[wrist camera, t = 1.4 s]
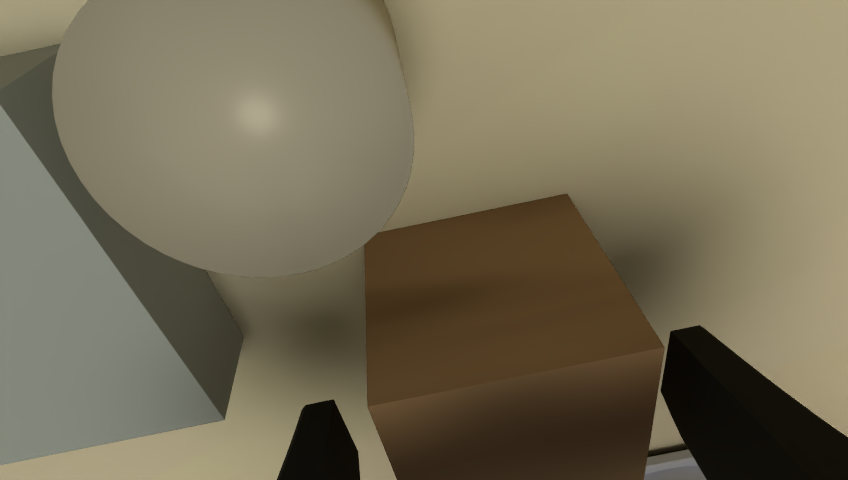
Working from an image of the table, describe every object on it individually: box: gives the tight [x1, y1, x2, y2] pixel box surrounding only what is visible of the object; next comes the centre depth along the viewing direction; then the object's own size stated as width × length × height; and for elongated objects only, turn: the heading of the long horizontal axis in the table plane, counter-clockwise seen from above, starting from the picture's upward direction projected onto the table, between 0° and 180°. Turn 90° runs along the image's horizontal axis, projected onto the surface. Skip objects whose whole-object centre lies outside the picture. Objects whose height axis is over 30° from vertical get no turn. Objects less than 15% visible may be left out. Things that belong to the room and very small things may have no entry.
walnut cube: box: [364, 194, 665, 480], centre depth 12 cm, size 5×5×5 cm
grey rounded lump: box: [52, 0, 414, 278], centre depth 8 cm, size 4×4×4 cm
